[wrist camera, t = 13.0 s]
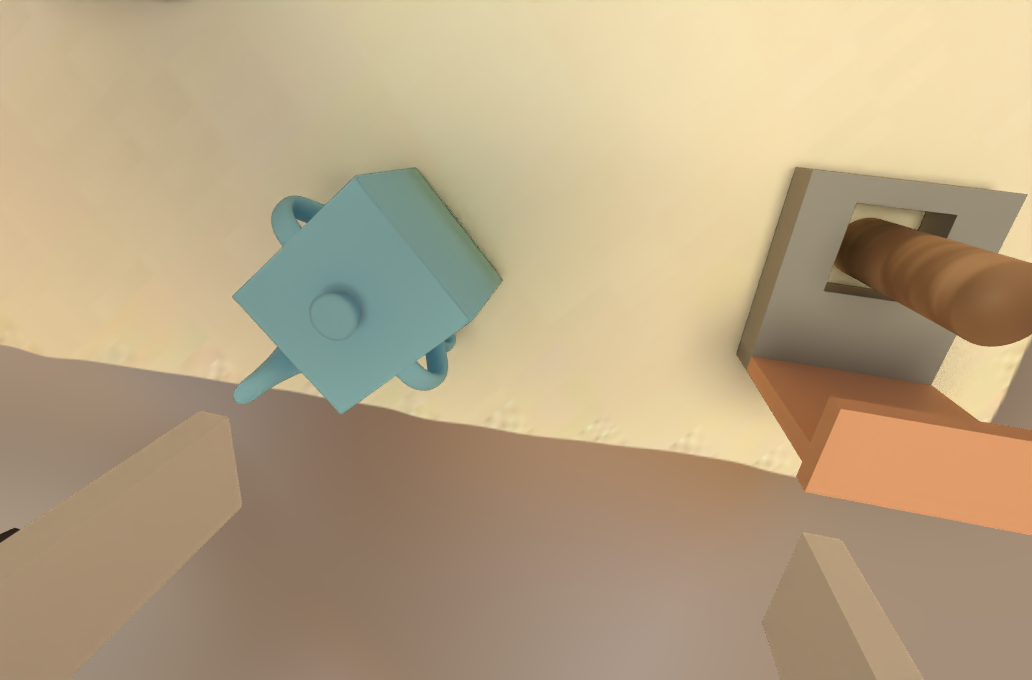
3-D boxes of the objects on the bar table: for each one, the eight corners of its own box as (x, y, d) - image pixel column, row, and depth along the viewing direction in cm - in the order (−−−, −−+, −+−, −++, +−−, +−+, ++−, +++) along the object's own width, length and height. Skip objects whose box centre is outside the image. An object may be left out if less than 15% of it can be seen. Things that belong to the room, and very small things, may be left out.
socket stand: (791, 166, 33) (937, 185, 18) (995, 190, 31) (1331, 232, 17) (730, 360, 38) (804, 491, 24) (900, 388, 37) (1089, 546, 22)
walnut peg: (844, 214, 33) (977, 256, 21) (906, 222, 33) (1078, 269, 21) (822, 270, 35) (936, 338, 23) (882, 279, 34) (1028, 353, 22)
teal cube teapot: (401, 137, 36) (302, 135, 25) (526, 300, 39) (491, 367, 28) (261, 273, 43) (129, 323, 31) (378, 404, 46) (299, 494, 34)
